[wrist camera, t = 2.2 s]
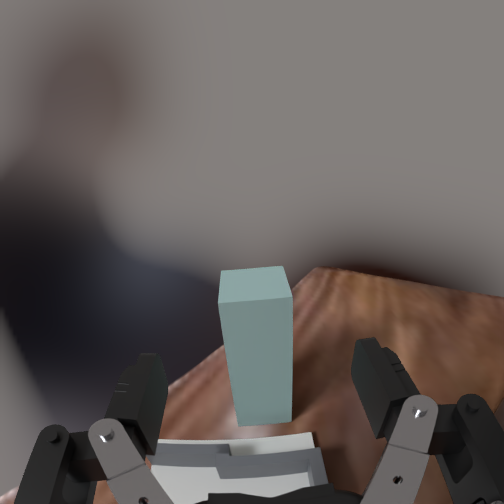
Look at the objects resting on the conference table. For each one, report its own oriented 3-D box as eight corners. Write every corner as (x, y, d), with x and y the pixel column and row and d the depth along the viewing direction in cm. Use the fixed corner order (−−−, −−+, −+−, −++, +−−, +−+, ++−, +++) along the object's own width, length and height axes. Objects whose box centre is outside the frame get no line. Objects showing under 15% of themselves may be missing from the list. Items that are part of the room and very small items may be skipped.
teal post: (285, 385, 31) (282, 265, 26) (291, 421, 26) (292, 296, 21) (237, 389, 31) (221, 271, 26) (238, 426, 26) (218, 303, 21)
